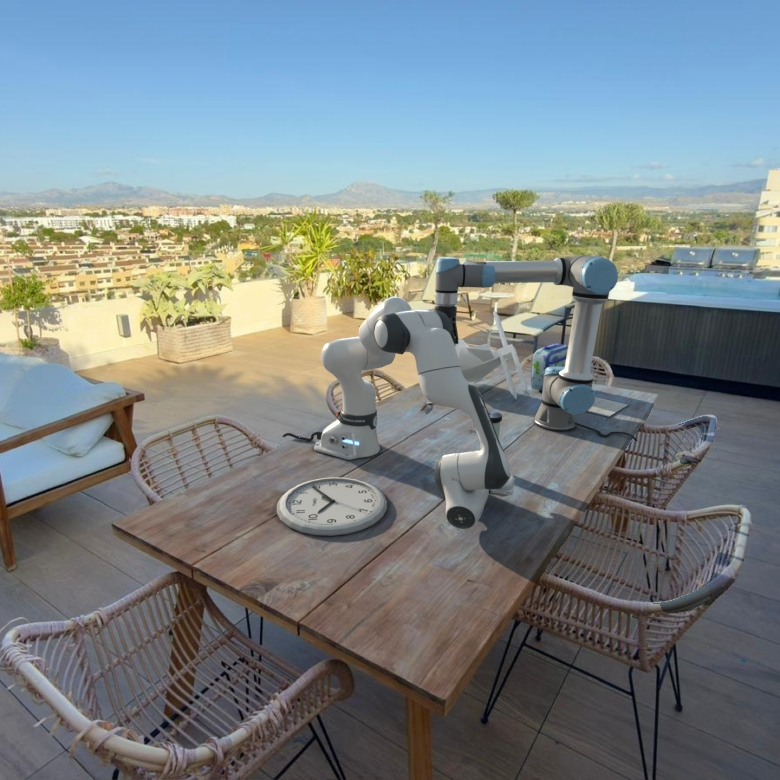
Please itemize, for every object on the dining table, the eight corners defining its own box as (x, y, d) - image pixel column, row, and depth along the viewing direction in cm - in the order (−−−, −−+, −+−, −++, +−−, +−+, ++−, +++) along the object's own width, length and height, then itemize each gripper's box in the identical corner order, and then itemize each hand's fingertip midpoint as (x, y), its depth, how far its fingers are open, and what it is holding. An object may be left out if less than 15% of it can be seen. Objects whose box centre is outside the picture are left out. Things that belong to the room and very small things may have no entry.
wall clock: (392, 527, 129) (268, 531, 127) (391, 533, 130) (269, 537, 127) (383, 473, 158) (282, 475, 155) (383, 478, 158) (282, 480, 156)
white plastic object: (461, 429, 252) (437, 405, 227) (444, 352, 274) (420, 323, 250) (535, 404, 240) (518, 377, 215) (510, 326, 262) (492, 293, 237)
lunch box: (547, 395, 239) (552, 351, 233) (526, 390, 247) (530, 347, 240) (574, 384, 257) (579, 343, 251) (554, 380, 264) (558, 339, 258)
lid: (479, 415, 164) (480, 410, 163) (500, 416, 163) (500, 411, 163) (482, 422, 158) (482, 417, 157) (503, 423, 157) (503, 418, 157)
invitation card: (608, 416, 214) (573, 407, 224) (608, 416, 214) (573, 408, 224) (628, 404, 229) (594, 396, 238) (628, 405, 229) (594, 397, 238)
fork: (417, 411, 216) (418, 406, 216) (428, 400, 231) (428, 395, 230) (423, 412, 215) (424, 407, 215) (434, 400, 230) (434, 396, 229)
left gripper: (513, 485, 136) (518, 463, 149) (437, 472, 143) (448, 452, 155) (510, 506, 138) (516, 483, 151) (435, 492, 145) (447, 471, 157)
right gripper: (450, 300, 188) (447, 357, 194) (419, 308, 167) (417, 372, 174) (469, 301, 185) (466, 360, 191) (440, 310, 164) (437, 375, 170)
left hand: (481, 467), depth 153 cm, fingers open, 8 cm apart
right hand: (442, 366), depth 182 cm, fingers open, 13 cm apart
